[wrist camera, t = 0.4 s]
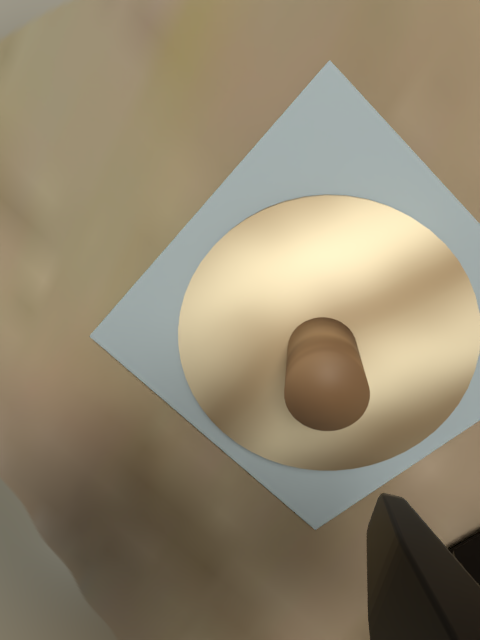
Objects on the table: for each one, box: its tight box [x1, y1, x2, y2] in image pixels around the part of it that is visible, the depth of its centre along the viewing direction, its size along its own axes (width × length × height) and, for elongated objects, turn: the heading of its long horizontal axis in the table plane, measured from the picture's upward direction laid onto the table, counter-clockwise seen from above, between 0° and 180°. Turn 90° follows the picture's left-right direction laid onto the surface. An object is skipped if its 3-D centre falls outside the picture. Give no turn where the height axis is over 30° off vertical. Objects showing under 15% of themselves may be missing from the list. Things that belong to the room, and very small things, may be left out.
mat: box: [90, 60, 480, 530], centre depth 20 cm, size 16×16×1 cm
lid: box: [178, 194, 480, 471], centre depth 18 cm, size 13×13×5 cm
